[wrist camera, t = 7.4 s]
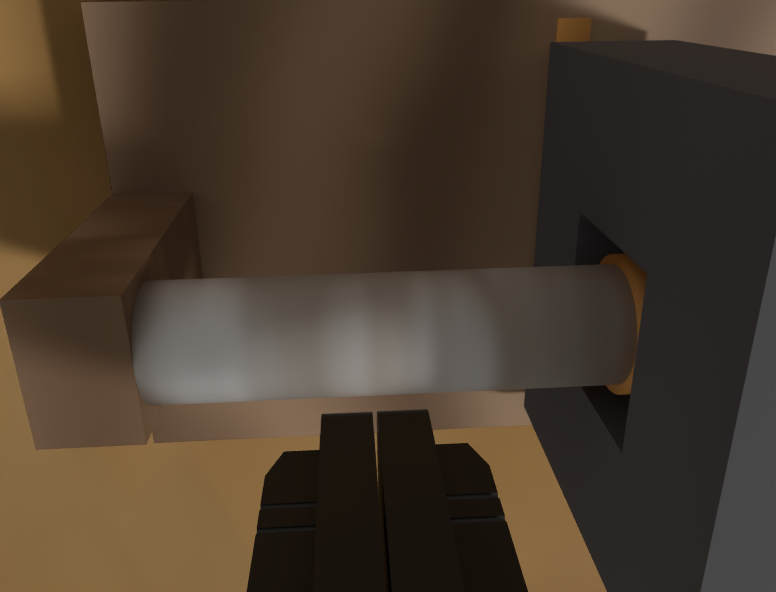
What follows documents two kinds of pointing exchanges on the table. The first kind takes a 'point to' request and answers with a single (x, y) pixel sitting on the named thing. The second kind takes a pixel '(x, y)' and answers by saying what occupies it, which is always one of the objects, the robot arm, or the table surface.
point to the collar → (669, 308)
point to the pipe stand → (328, 220)
